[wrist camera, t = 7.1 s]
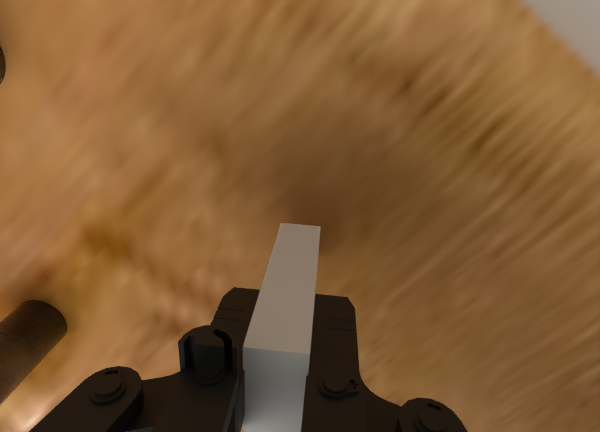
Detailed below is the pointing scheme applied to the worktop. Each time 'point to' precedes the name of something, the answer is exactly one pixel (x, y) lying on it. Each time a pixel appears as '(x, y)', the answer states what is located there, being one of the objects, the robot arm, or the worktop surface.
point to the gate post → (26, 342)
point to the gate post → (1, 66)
